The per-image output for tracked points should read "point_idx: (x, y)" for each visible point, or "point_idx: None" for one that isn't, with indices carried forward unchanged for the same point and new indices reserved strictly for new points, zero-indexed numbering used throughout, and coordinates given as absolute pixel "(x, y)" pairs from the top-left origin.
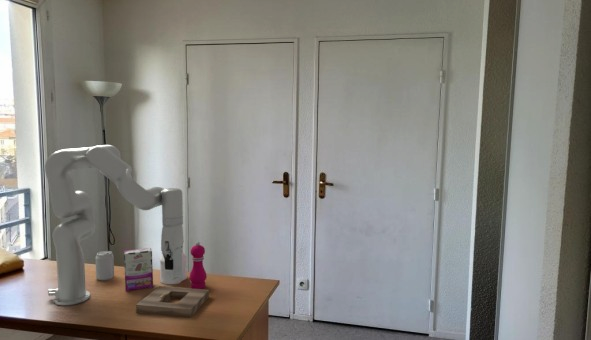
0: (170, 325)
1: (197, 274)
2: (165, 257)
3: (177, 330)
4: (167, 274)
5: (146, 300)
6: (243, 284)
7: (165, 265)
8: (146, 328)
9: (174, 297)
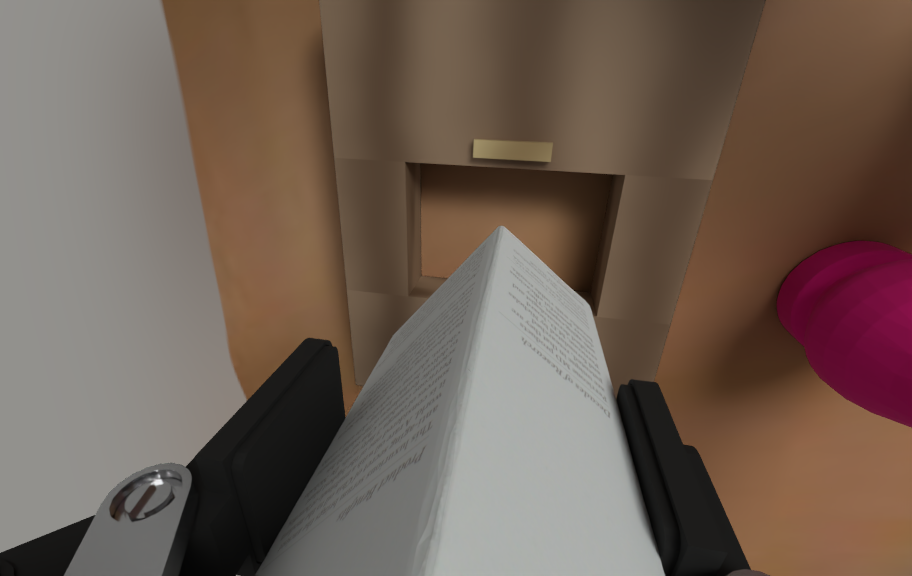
0: (274, 292)
1: (856, 376)
2: (53, 561)
3: (248, 334)
4: (459, 272)
5: (409, 44)
6: (826, 534)
7: (277, 380)
8: (207, 187)
9: (610, 192)
